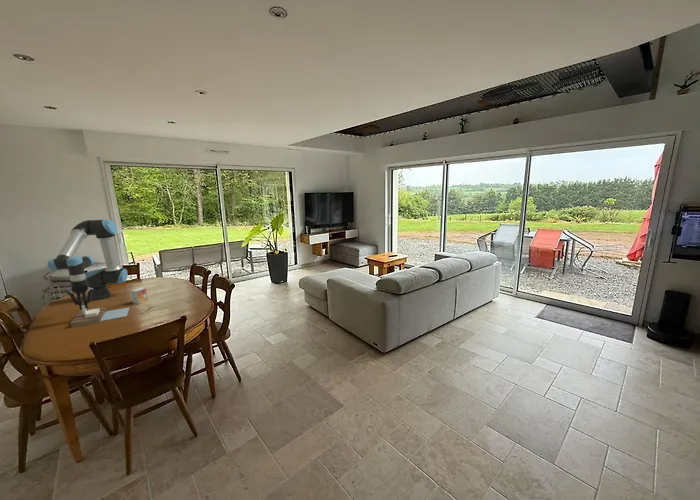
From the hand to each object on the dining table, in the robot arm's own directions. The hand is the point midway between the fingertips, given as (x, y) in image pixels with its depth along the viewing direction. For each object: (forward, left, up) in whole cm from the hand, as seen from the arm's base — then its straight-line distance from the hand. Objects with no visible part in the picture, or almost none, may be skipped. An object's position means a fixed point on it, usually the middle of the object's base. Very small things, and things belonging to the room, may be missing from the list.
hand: (85, 313), depth 192 cm
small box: (-19, +29, -5) cm, 35 cm away
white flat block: (0, +4, -1) cm, 4 cm away
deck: (0, +2, -4) cm, 5 cm away
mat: (0, +16, -4) cm, 16 cm away
